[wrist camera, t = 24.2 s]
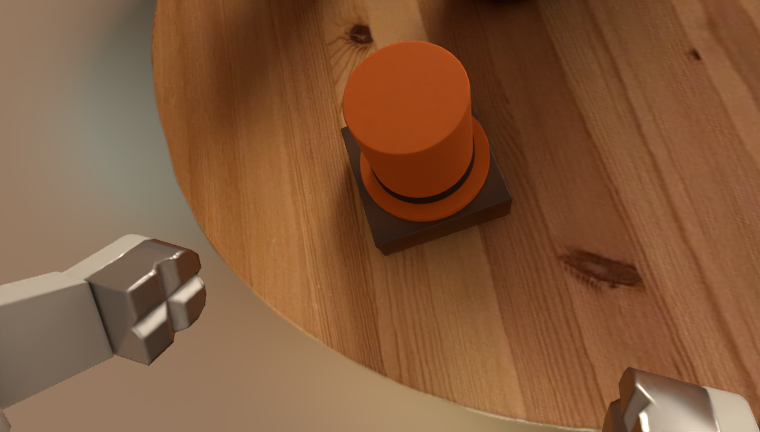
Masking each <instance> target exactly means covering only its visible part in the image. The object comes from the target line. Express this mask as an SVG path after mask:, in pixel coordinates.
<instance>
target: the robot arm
mask: <svg viewBox="0 0 760 432" xmlns="http://www.w3.org/2000/svg"><path fill="white" fill-rule="evenodd" d="M200 269H201V264H200V260H199V255H198V254H197V253H195V252H194V251H192V250H190V249H187V248H183V247H180V246H177V245H173V244H170V243H167V242H163V241H160V240H157V239H151V238H147V237H145V236H141V235H138V234H128V235H125V236H123V237H121V238H120V239H118V240H116V241H115V242H113V243H111V244H110V245H108V246H106V247H105V248H103V249H101V250H100V251H98V252H96V253H95V254H93V255H91V256H90V257H88V258H86V259H85V260H83V261H81V262H80V263H78V264H76V265H75V266H73V267H71V268H70V269H68V270H66V271H65V272H63V273H59V272H52V273H48V274H44V275H40V276H36V277H33V278H29V279H24V280H20V281H17V282H12V283H9V284H5V285H1V286H0V432H9V431H10V428H11V425H10V424H9V422H8V420H7V418H6V417H5V414H4V413H3V411H2V410H3V409H5V408H7V407H9V406H11V405H13V404H16V403H18V402H20V401H22V400H24V399H26V398H28V397H30V396H32V395H34V394H37V393H38V392H40V391H43V390H45V389H47V388H49V387H51V386H53V385H55V384H57V383H59V382H62V381H64V380H66V379H68V378H70V377H72V376H74V375H76V374H78V373H80V372H82V371H85V370H87V369H89V368H91V367H93V366H95V365H97V364H99V363H101V362H103V361H105V360H107V359H110V358H112V357H113V354H115V355H118V356H121V357H124V358H127V359H130V360H133V361H136V362H139V363H142V364H145V365H148V366H149V365H150V364H151V363H152V362H153V361H154V360H155V359H156V358H157V357H158V356H159V355H161V354H162V353H163V352H164V351H165V350H166V349H167V348H168V347H169V346H170V345H171V344H172V343H173V342H174V336H175V333H176V332H179V331H181V330H184V329H186V328H189V327H190V326H191V325H192V324H193V323H194V322H195V321H196V320H197V319H198V318H199V316H200V314H201V312H202V310H203V308H204V306H205V301H206V290H205V285H204V283H203V282H202V280H201V279H200V278H199V276H198V275H197V274H198V272H199V270H200ZM619 394H620V399H618V400H615V401H613V402H611V403H610V405H609V407H608V410H607V413H606V415H605V419H604V424H603V429H602V432H760V430H759V428H758V426H757V423H756V421H755V418H754V416H753V414H752V411H751V409H750V406H749V404H748V402H747V401H746V400H745V399H744V398H743V397H742V396H741V395H738V394H734V393H730V392H726V391H722V390H718V389H714V388H710V387H706V386H699V385H696V384H692V383H688V382H685V381H681V380H677V379H673V378H669V377H665V376H662V375H658V374H654V373H650V372H646V371H642V370H639V369H635V368H631V367H628V368H627V369H626V370H625V371H624V372H623V375H622V377H621V379H620V381H619Z"/></svg>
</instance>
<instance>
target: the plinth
mask: <svg viewBox="0 0 760 432" xmlns="http://www.w3.org/2000/svg"><path fill="white" fill-rule="evenodd" d="M471 115H472V116H473V117H474V118H475V119H476V120H477V121H478V122H479V124H480V125H481V123H480V121H479V119H478V116H477V114H476V111H475V109H474V107H473V104H472V102H471ZM481 127H482V126H481ZM341 132H342V135H343V139H344V142H345V145H346V149H347V152H348V155H349V159H350V162H351V165H352V169H353V172H354V175H355V179H356V182H357V186H358V189H359V192H360V196H361V199H362V202H363V206H364V209H365V212H366V216H367V219H368V222H369V226H370V229H371V232H372V236H373V239H374V242H375V246H376V247H377V248H378V249H379V250H380V251H381V252H382V253H383V254H384V255H385V256H387V255H390V254H393V253H396V252H399V251H401V250H404V249H407V248H410V247H413V246H416V245H419V244H422V243H425V242H428V241H431V240H433V239H436V238H439V237H442V236H445V235H448V234H451V233H454V232H457V231H460V230H463V229H465V228H468V227H471V226H474V225H477V224H480V223H483V222H486V221H489V220H492V219H495V218H497V217H500V216H503V215H506V214H509V213H510V210H511V204H512V196H511V194H510V191H509V189H508V187H507V184H506V182H505V180H504V177H503V175H502V173H501V170H500V168H499V166H498V163H497V161H496V158H495V156H494V154H493V151H492V149H491V147H490V144H489V142H488V144H489V150H490V163H489V170H488V174H487V177H486V180H485V182H484V184H483V186H482V188H481V190H480V191H479V193H478V194H477V195H476V196H475V198H474V199H473V200H472V201H471V202H470V203H469V204H468V205H467V206H465V207H464V208H463V209H461V210H460V211H458V212H456V213H454V214H453V215H450V216H448V217H445V218H442V219H439V220H434V221H427V222H417V221H409V220H405V219H401V218H399V217H396V216H394V215H392V214H390V213H388V212H386V211H385V210H384V209H382V208H381V207H380V206H379V205H378V204H377V203H376V202H375V201H374V200H373V198H372V197H371V196H370V194H369V193H368V191H367V189H366V187H365V185H364V183H363V180H362V176H361V172H360V156H361V149H360V147H359V146H358V144H357V142H356V141H355V139H354V137H353V135H352V134H351V132H350V130H349V129H348V127H344V128H342V129H341Z"/></svg>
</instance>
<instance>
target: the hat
mask: <svg viewBox="0 0 760 432" xmlns="http://www.w3.org/2000/svg"><path fill="white" fill-rule="evenodd" d="M342 107H343V115H344V119H345V122H346V125H347V127H348V129H349V130H350V132H351V134H352V135H353V137H354V139H355V141H356V142H357V144H358V146H359V147H360V149H361V156H360V172H361V176H362V180H363V183H364V185H365V187H366V189H367V191H368V193H369V194H370V196H371V197H372V198H373V200H374V201H375V202H376V203H377V204H378V205H379V206H380V207H381V208H382V209H384V210H385V211H386V212H388V213H390V214H392V215H394V216H396V217H399V218H401V219H405V220H409V221H417V222H427V221H434V220H439V219H442V218H445V217H448V216H450V215H453V214H454V213H456V212H458V211H460V210H461V209H463V208H464V207H465V206H467V205H468V204H469V203H470V202H471V201H472V200H473V199H474V198H475V196H476V195H477V194H478V193H479V191H480V190H481V188H482V186H483V184H484V182H485V180H486V177H487V174H488V170H489V163H490V150H489V144H488V140H487V137H486V134H485V132H484V130H483V128H482V127H481V125H480V124H479V122H478V121H477V120H476V119H475V118H474V117H473V116H472V115H471V97H470V84H469V79H468V76H467V73H466V71H465V69H464V67H463V66H462V64H461V63H460V62H459V60H458V59H457V58H456V57H455V56H454V55H452V54H451V53H450V52H448V51H447V50H445V49H444V48H442V47H440V46H437V45H435V44H432V43H428V42H422V41H405V42H399V43H394V44H391V45H388V46H385V47H383V48H381V49H379V50H377V51H375V52H374V53H372V54H371V55H369V56H368V57H367V58H365V59H364V60H363V61H362V62H361V63H360V64H359V65H358V66H357V68H356V69H355V70H354V72H353V73H352V75H351V76H350V78H349V80H348V82H347V84H346V87H345V90H344V95H343V103H342Z"/></svg>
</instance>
